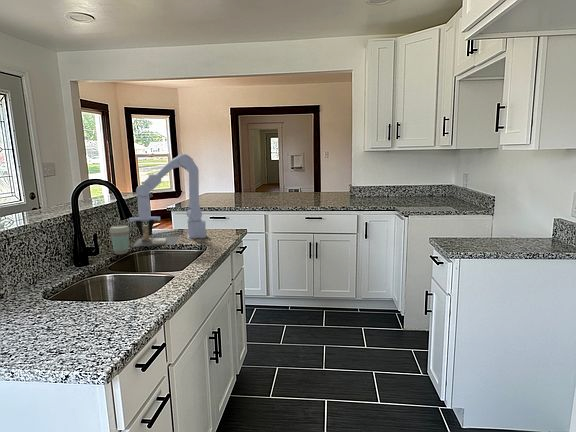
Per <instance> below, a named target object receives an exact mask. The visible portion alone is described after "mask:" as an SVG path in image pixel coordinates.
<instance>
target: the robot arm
mask: <svg viewBox="0 0 576 432" xmlns="http://www.w3.org/2000/svg"><path fill="white" fill-rule="evenodd" d="M176 168H177V169H178V168H183V169H184V170H185V171H186V172H188V199H189V200H188V201H189V202H188V207H187V210H186V216H187V217H188V219H187V231H188V232H187V233H188V235H187V239H192V238H193V239H196V238H198V239H199V238H201V239H204V238H207V233H208V231H207V229H206V228H207V227H206V220H205V219H202V217H203V213H202V210H201V205H200V201H199V200H200V196H199V195H200V193H199V192H200V191H199V187H200V186H199V183H200V181H199V179H200V177H199V176H200V174H199V168H198V166H197V165H196V163H195V160H194V159H193V158H192V157H191V156H190V155H188V154H186V153H182V154H181V153H180V154H178V155H177V156H176V157H173V158H172V159H171V160H170V161H168V162H167V163H166V164H165V166H164V167H162V168H161V169H160V170H159V171H158V172H157V173H152V174H149V175H148V177H147V178H146V179H145V180H144V181H142V182H141V184H139V185H138V186H137V187H136V189H135V192H136V194H137V211H138V212H137V213H138V216H136V217H135V216H134V217H129V218H128V219H129V223H134V222H135V226H136V227H137V228H138V230H139V234H140V237H143V222H148V224H147V225H148V228H149V237H150V236H152V232H153V227H154V226H155V225H154V224H155V222H156V221H157V222H160V221H161V216H151V215H152V214H151V202H150V194H151V191H153V190H154V189H155V188H157V187H158V186H159V185H161V183H162V179H163V178H164V177H165V176H166V175H168V173H169V172H171V171H172V170H173V169H176Z"/></svg>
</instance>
